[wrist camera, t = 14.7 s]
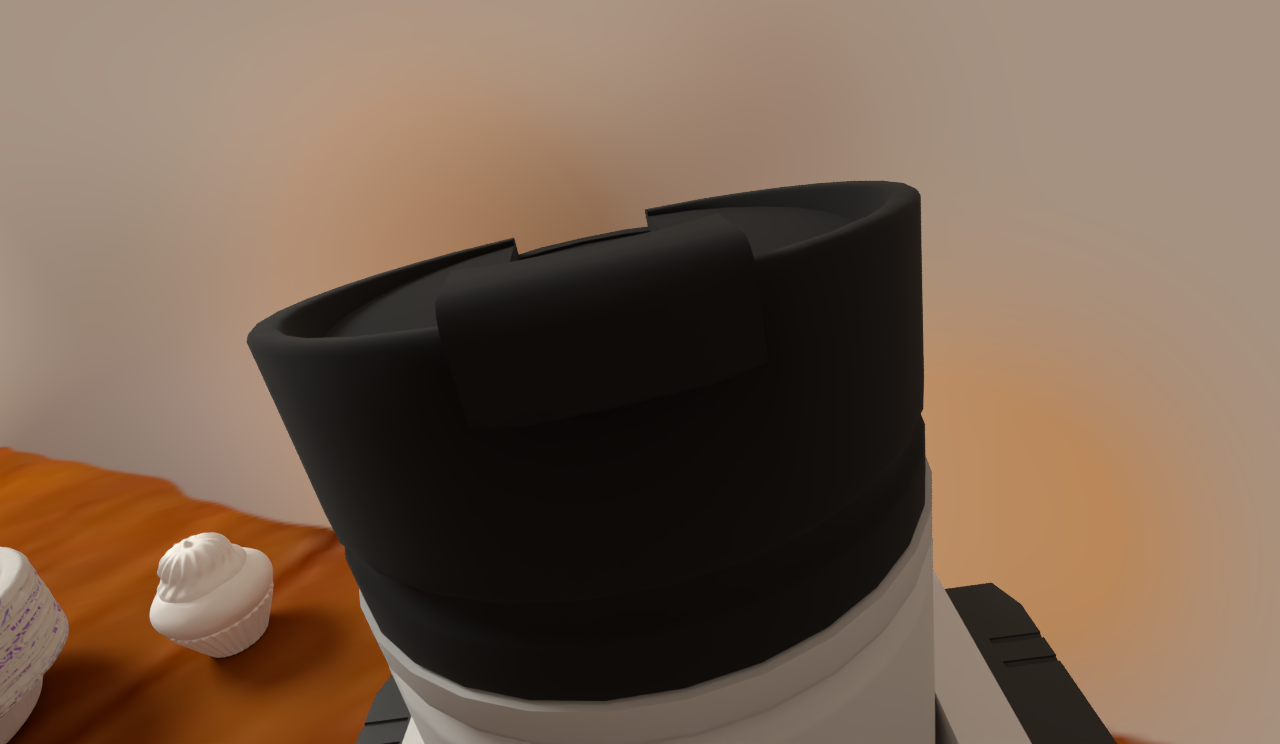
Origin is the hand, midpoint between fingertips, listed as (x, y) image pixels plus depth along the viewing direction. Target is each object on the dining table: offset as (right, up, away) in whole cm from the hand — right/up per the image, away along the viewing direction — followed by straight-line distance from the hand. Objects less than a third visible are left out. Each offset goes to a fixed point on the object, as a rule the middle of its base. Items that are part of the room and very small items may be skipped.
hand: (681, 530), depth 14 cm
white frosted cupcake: (-24, -12, +26) cm, 37 cm away
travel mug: (+2, -13, 0) cm, 13 cm away
